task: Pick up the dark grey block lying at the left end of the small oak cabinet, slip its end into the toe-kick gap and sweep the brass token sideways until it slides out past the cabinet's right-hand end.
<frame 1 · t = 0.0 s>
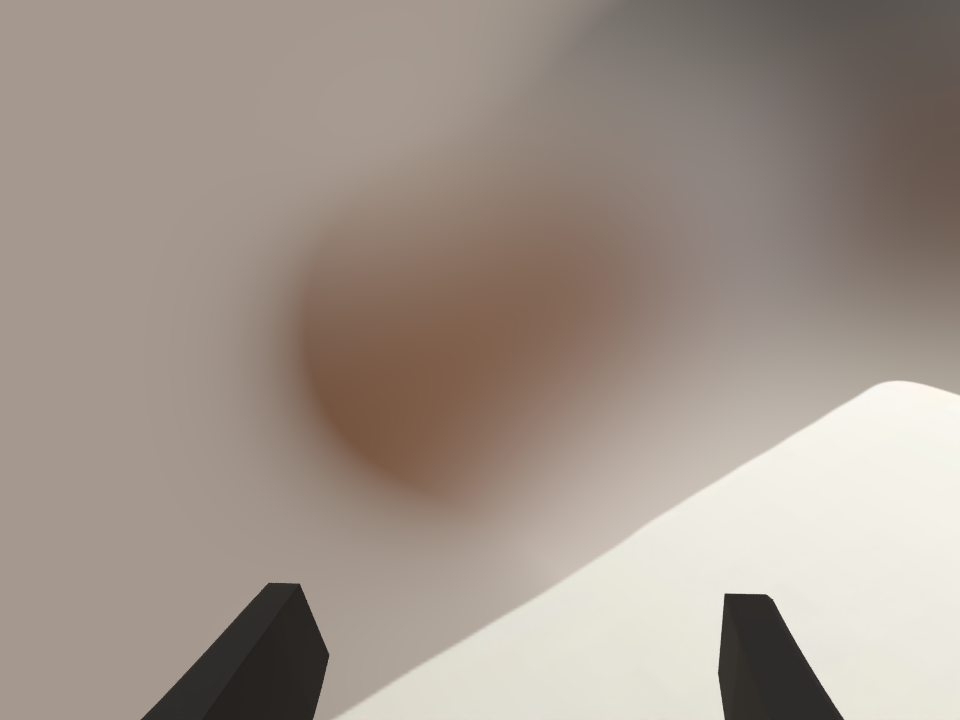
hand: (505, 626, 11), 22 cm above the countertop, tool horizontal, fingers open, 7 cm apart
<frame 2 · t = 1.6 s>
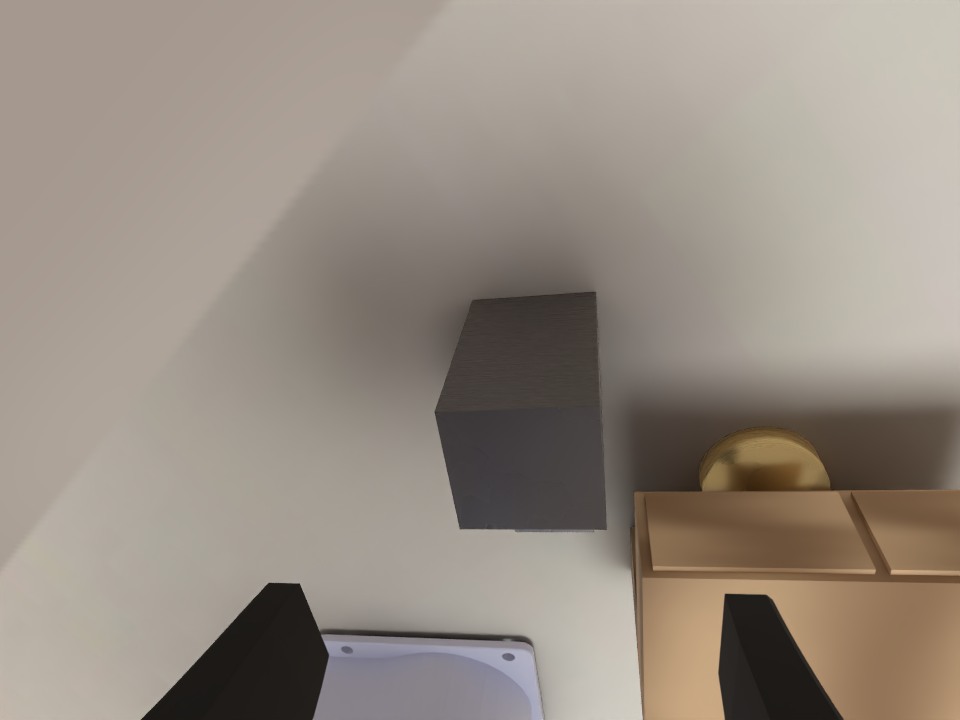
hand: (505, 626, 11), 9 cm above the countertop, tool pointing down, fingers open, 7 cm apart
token: (756, 467, 20), on the countertop
dark grey block: (538, 349, 19), on the countertop
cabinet: (788, 499, 20), on the countertop
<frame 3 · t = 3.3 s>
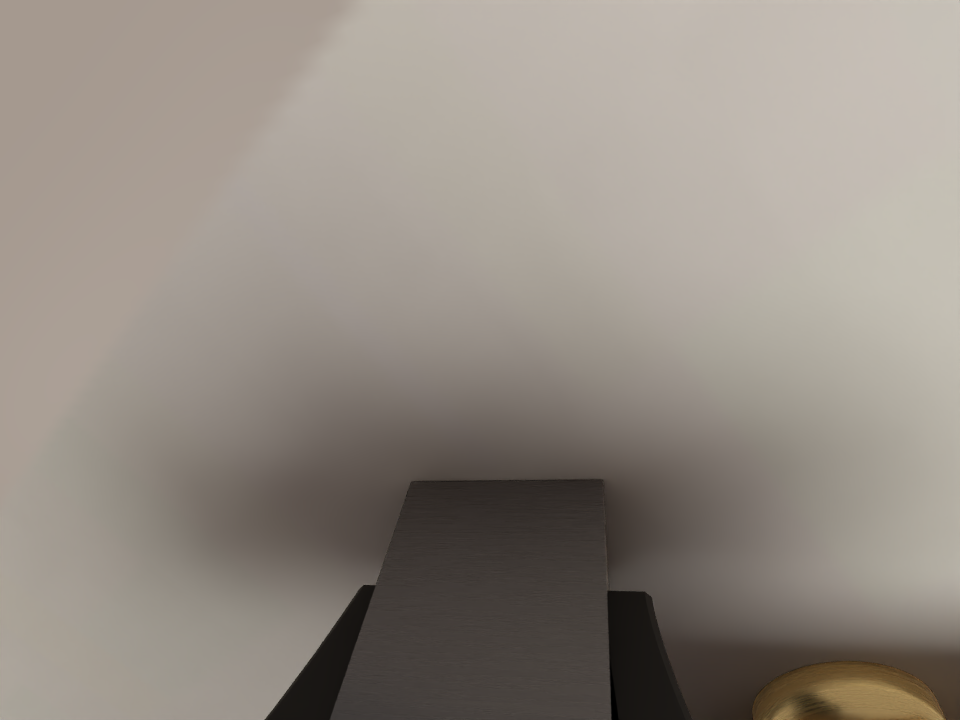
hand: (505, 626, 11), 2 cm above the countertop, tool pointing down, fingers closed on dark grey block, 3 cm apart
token: (838, 701, 14), on the countertop
dark grey block: (515, 549, 12), on the countertop, touching gripper
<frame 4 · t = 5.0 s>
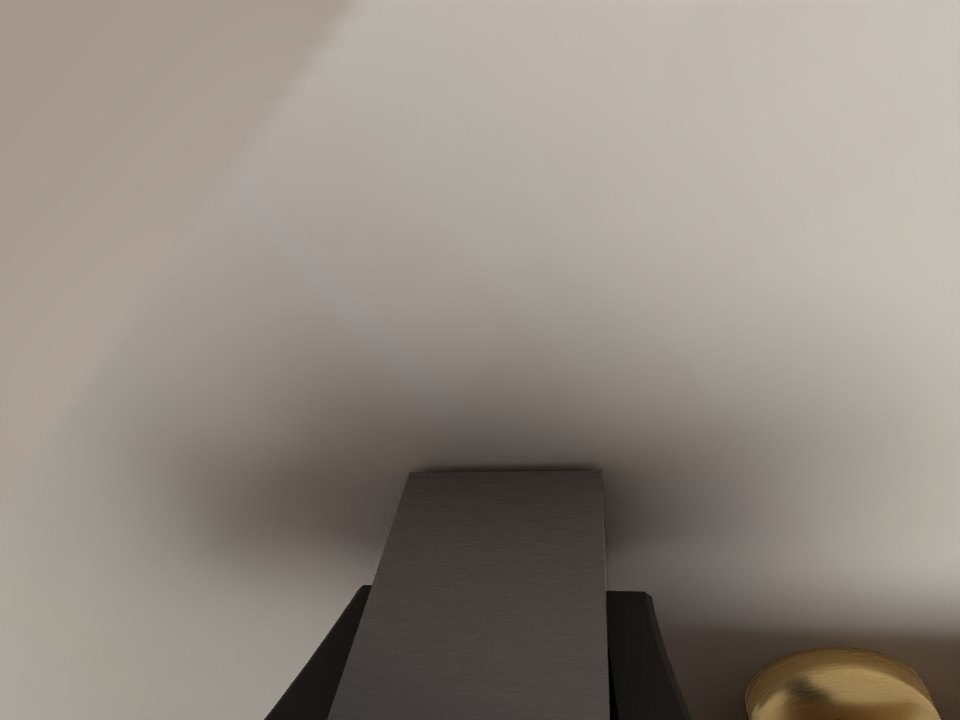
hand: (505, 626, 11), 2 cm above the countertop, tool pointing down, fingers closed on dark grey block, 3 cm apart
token: (828, 688, 14), on the countertop
dark grey block: (513, 538, 12), on the countertop, touching gripper
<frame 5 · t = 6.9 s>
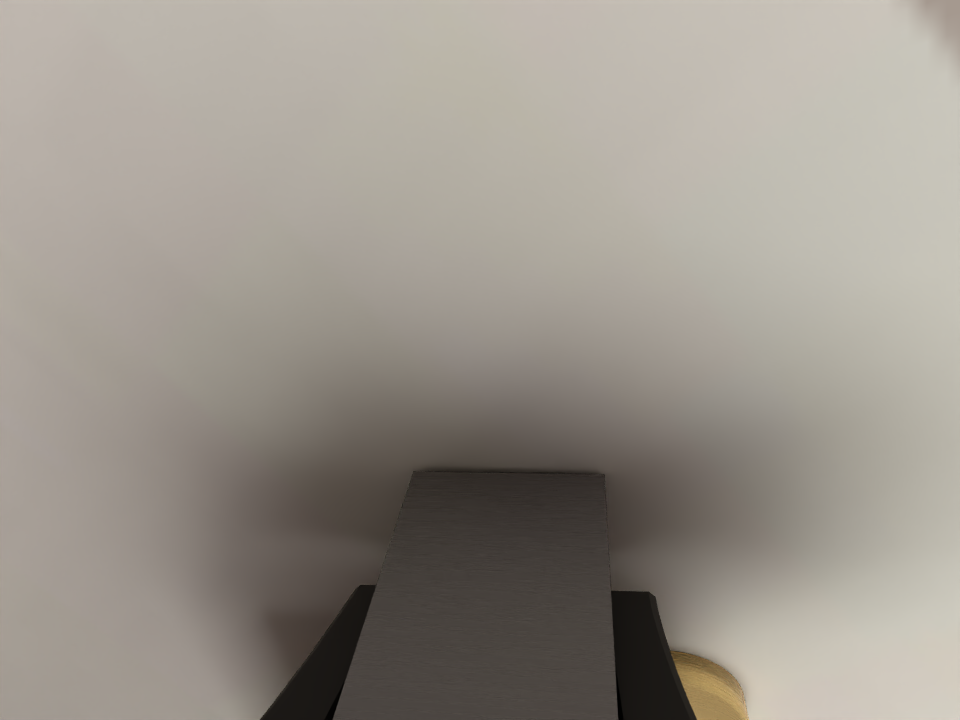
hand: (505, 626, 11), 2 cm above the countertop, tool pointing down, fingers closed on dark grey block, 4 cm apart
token: (661, 696, 15), on the countertop
dark grey block: (512, 540, 12), on the countertop, touching gripper
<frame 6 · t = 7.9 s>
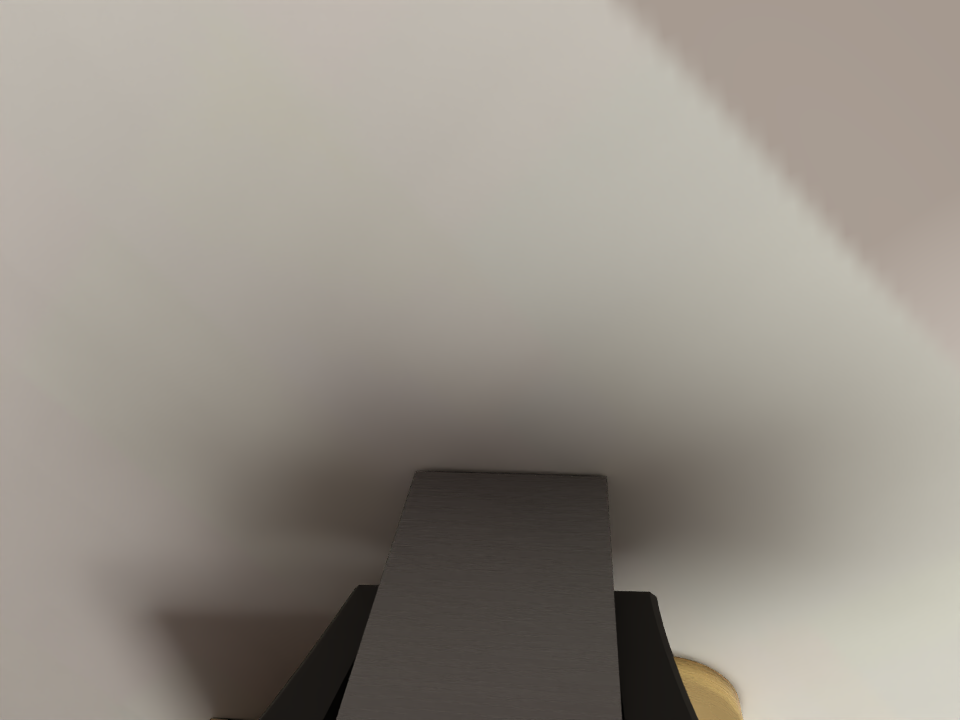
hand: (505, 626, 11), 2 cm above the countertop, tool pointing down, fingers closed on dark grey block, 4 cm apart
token: (656, 690, 15), on the countertop
dark grey block: (513, 541, 12), on the countertop, touching gripper
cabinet: (366, 701, 16), on the countertop
when the fingers open (2 cm above the countertop, at t = 9.1 s): dark grey block stays where it is, on the countertop.
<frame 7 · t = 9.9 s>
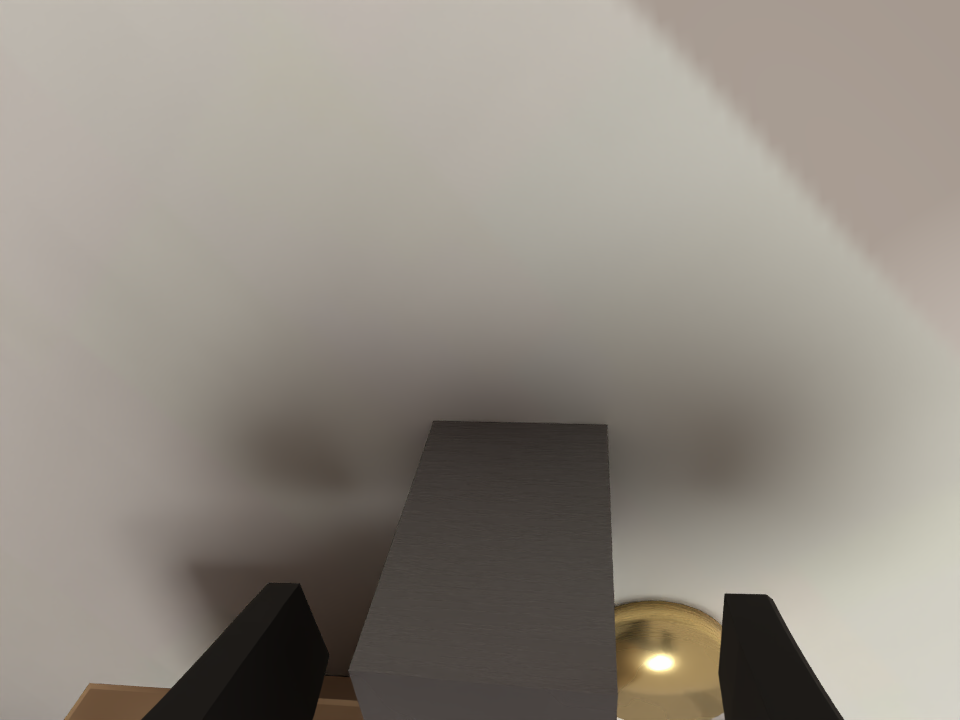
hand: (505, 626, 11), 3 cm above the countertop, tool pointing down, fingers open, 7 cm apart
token: (655, 639, 16), on the countertop
dark grey block: (522, 488, 14), on the countertop
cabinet: (382, 651, 18), on the countertop
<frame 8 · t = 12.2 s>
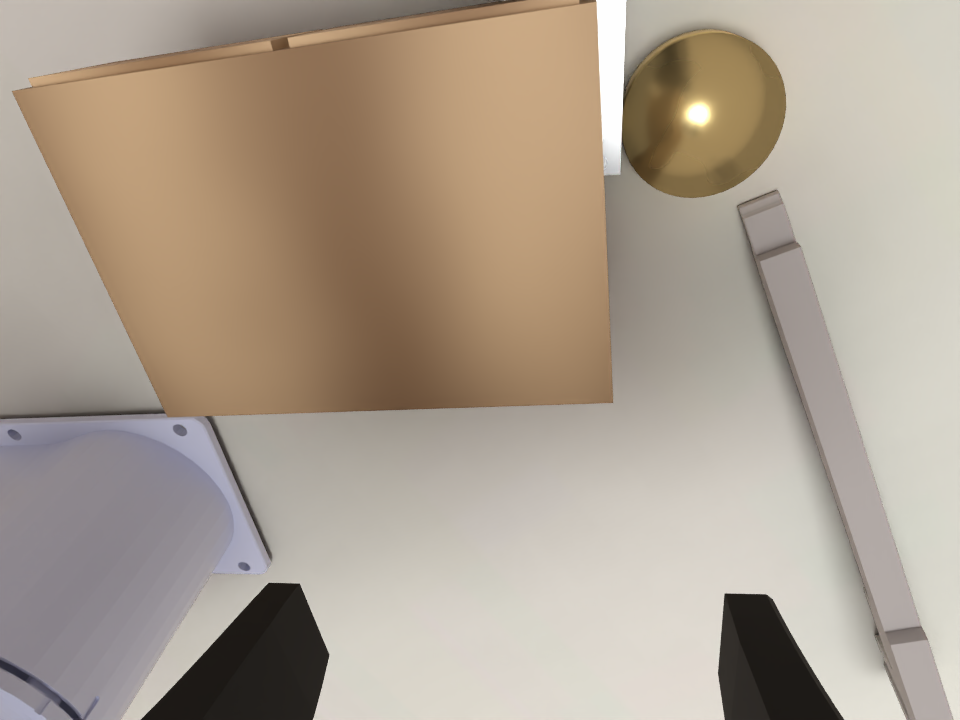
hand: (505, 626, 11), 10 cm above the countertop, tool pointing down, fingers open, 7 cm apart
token: (694, 110, 16), on the countertop
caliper: (838, 472, 21), on the countertop
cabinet: (410, 169, 17), on the countertop
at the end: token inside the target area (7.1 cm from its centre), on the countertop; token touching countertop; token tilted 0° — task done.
